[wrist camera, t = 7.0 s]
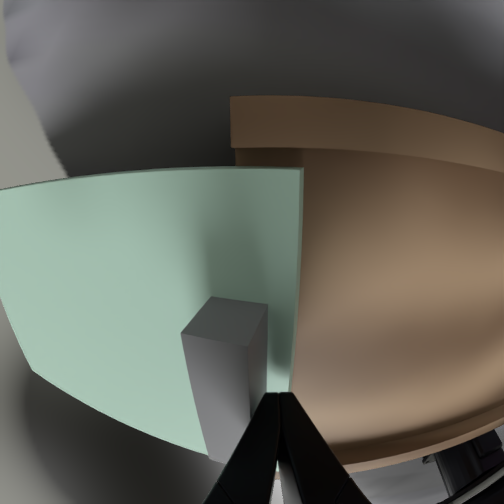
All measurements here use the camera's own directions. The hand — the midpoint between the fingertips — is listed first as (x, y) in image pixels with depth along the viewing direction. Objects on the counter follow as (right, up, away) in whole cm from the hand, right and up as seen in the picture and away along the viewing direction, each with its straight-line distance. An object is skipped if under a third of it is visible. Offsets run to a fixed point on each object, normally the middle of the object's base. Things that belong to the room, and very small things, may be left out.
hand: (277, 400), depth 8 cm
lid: (-8, +1, +4) cm, 9 cm away
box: (+8, +2, +5) cm, 10 cm away
